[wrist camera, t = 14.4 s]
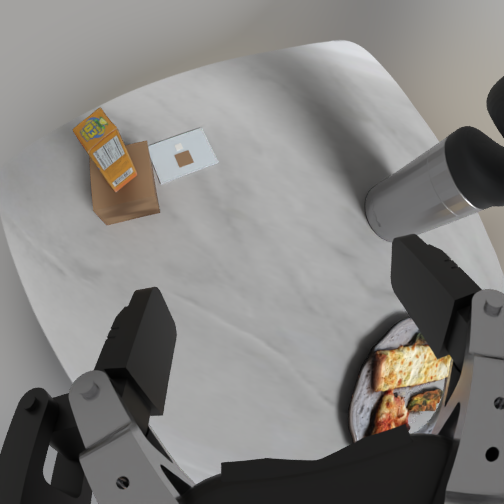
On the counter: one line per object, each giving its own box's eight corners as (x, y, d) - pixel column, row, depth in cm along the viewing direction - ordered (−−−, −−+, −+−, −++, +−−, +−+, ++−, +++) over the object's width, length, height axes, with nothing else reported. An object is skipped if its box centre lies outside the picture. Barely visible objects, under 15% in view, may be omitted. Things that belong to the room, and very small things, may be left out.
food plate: (328, 467, 34) (339, 477, 30) (356, 312, 39) (370, 312, 35) (440, 443, 38) (453, 447, 35) (462, 323, 44) (476, 322, 40)
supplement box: (98, 175, 29) (69, 126, 20) (123, 156, 30) (103, 102, 21) (114, 196, 29) (86, 151, 20) (139, 176, 30) (122, 125, 20)
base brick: (151, 163, 37) (146, 140, 31) (160, 213, 36) (155, 195, 30) (101, 175, 35) (89, 154, 29) (107, 225, 34) (93, 210, 29)
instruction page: (201, 128, 39) (201, 127, 39) (218, 163, 38) (218, 162, 38) (146, 147, 37) (146, 146, 37) (161, 184, 36) (161, 183, 36)
